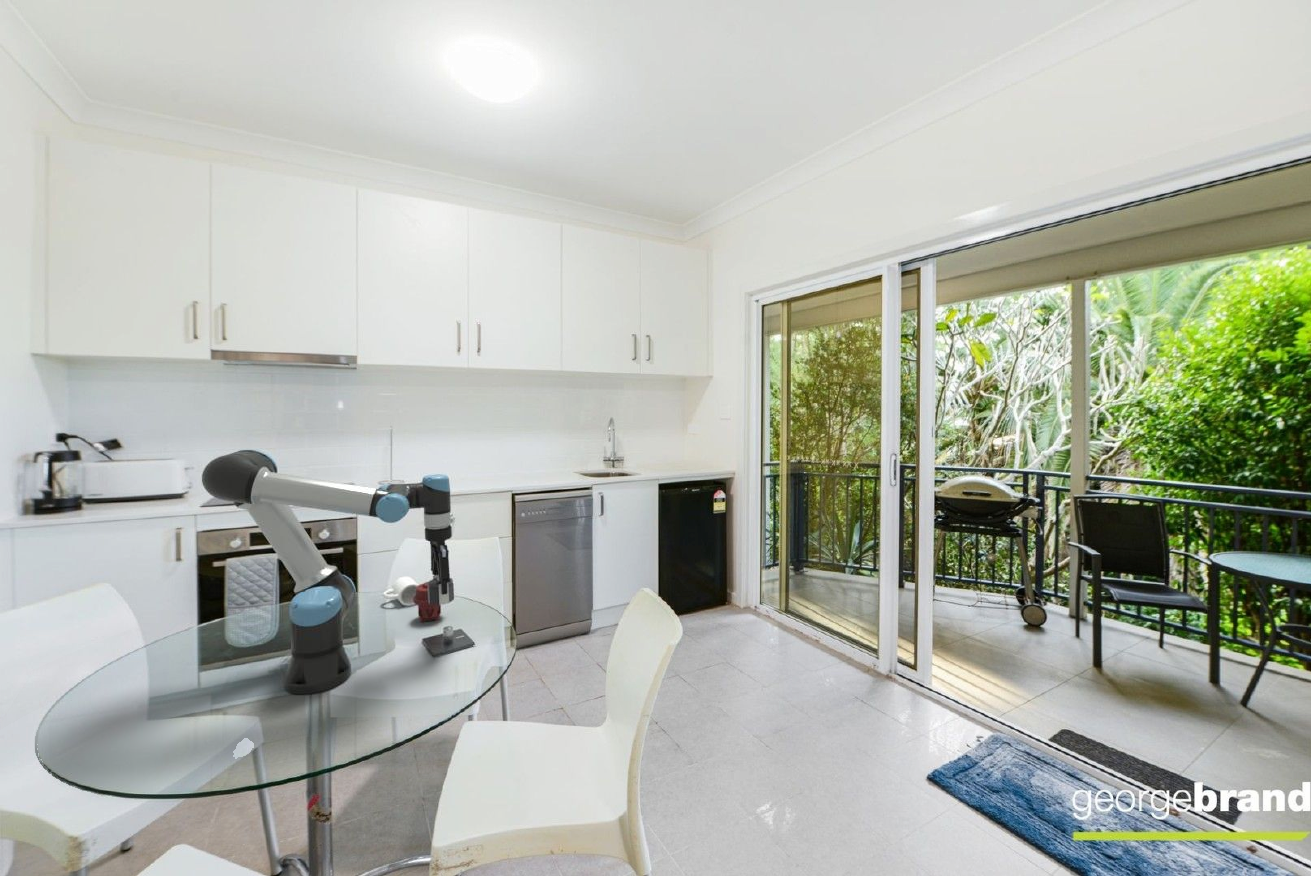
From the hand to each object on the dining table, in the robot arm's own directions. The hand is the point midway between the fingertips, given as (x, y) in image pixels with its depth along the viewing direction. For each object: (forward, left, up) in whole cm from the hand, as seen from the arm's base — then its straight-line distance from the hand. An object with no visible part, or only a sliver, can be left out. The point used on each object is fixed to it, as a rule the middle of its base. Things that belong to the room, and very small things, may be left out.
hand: (441, 599), depth 165 cm
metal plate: (+1, -2, -14) cm, 14 cm away
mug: (-2, +40, -14) cm, 42 cm away
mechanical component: (+2, +20, -14) cm, 24 cm away
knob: (0, 0, 0) cm, 0 cm away
